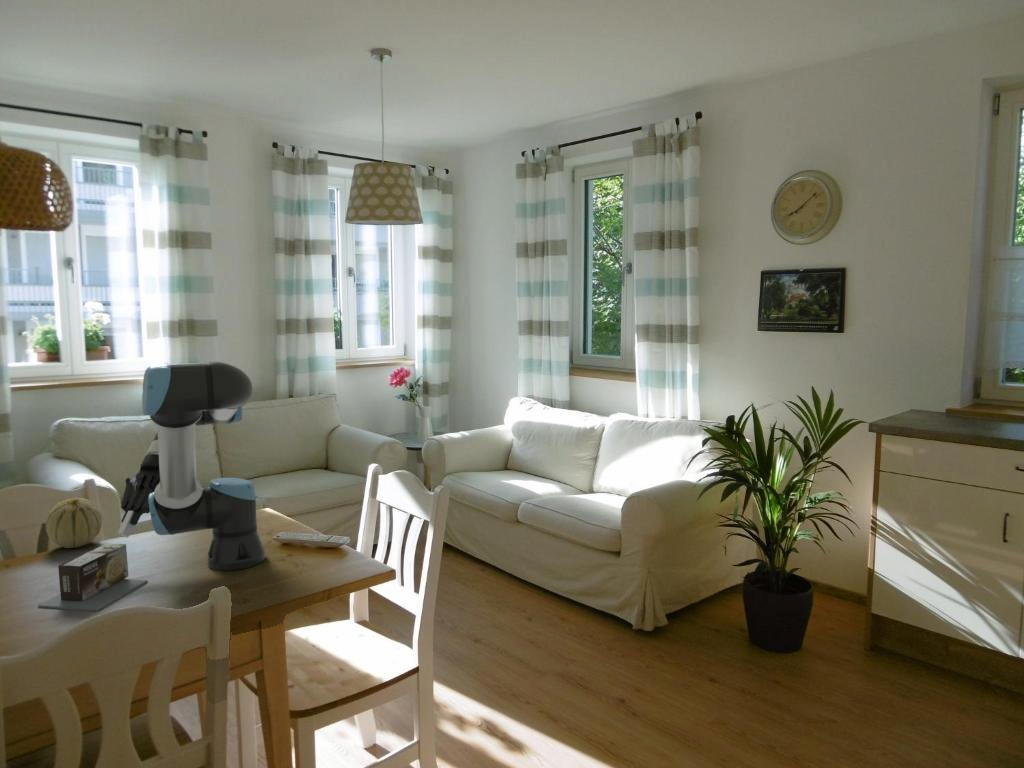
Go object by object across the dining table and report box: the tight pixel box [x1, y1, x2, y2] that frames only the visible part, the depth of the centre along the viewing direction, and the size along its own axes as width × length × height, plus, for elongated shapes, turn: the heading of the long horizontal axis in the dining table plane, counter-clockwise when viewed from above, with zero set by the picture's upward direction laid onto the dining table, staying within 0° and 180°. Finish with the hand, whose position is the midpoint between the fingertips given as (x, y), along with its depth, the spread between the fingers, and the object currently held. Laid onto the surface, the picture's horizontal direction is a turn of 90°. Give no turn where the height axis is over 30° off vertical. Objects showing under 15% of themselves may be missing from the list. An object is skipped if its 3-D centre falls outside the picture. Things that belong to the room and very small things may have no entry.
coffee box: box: [57, 542, 129, 601], centre depth 184 cm, size 9×6×16 cm
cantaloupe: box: [45, 497, 103, 549], centre depth 218 cm, size 15×15×15 cm
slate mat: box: [37, 578, 148, 612], centre depth 182 cm, size 16×18×1 cm
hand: (123, 534), depth 194 cm, fingers closed
